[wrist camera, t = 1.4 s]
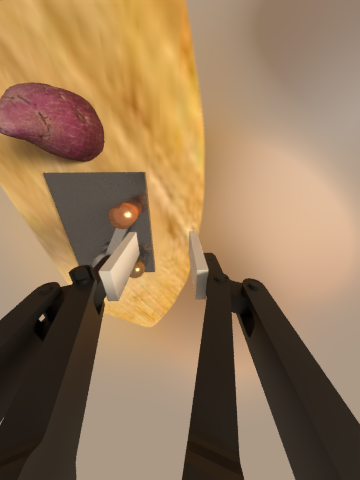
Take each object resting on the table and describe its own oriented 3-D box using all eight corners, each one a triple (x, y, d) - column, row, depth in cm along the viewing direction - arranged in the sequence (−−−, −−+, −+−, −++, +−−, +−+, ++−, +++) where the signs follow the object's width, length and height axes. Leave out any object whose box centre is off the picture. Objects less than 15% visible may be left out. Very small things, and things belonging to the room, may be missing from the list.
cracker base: (48, 172, 29) (9, 173, 22) (145, 172, 29) (136, 172, 23) (84, 270, 40) (66, 290, 33) (155, 269, 40) (151, 288, 34)
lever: (114, 276, 38) (102, 297, 32) (95, 268, 37) (78, 288, 30) (147, 206, 30) (139, 215, 24) (123, 193, 29) (109, 199, 22)
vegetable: (96, 169, 32) (45, 200, 21) (44, 129, 27) (-57, 140, 16) (117, 126, 27) (64, 136, 15) (57, 68, 22) (-80, 21, 11)
